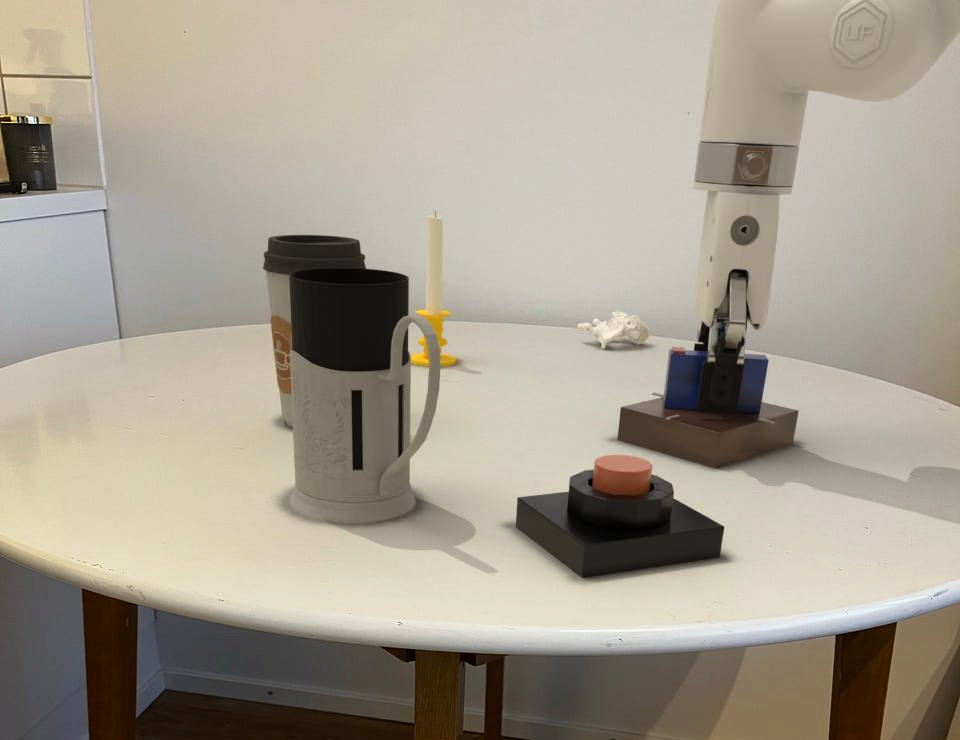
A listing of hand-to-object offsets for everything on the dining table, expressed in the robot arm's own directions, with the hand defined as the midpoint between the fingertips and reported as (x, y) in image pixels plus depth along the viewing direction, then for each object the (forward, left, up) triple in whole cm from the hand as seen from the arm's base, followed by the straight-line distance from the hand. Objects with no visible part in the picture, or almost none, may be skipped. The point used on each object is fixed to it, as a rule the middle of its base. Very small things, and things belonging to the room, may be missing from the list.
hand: (711, 399), depth 86 cm
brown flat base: (0, 0, -4) cm, 4 cm away
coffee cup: (+30, -15, -4) cm, 34 cm away
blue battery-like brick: (0, 0, -1) cm, 1 cm away
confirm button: (+20, +18, 0) cm, 27 cm away
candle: (+11, -36, -4) cm, 38 cm away
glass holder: (+33, +8, -4) cm, 34 cm away
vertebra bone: (-15, -40, -4) cm, 43 cm away
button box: (+20, +18, -4) cm, 27 cm away
